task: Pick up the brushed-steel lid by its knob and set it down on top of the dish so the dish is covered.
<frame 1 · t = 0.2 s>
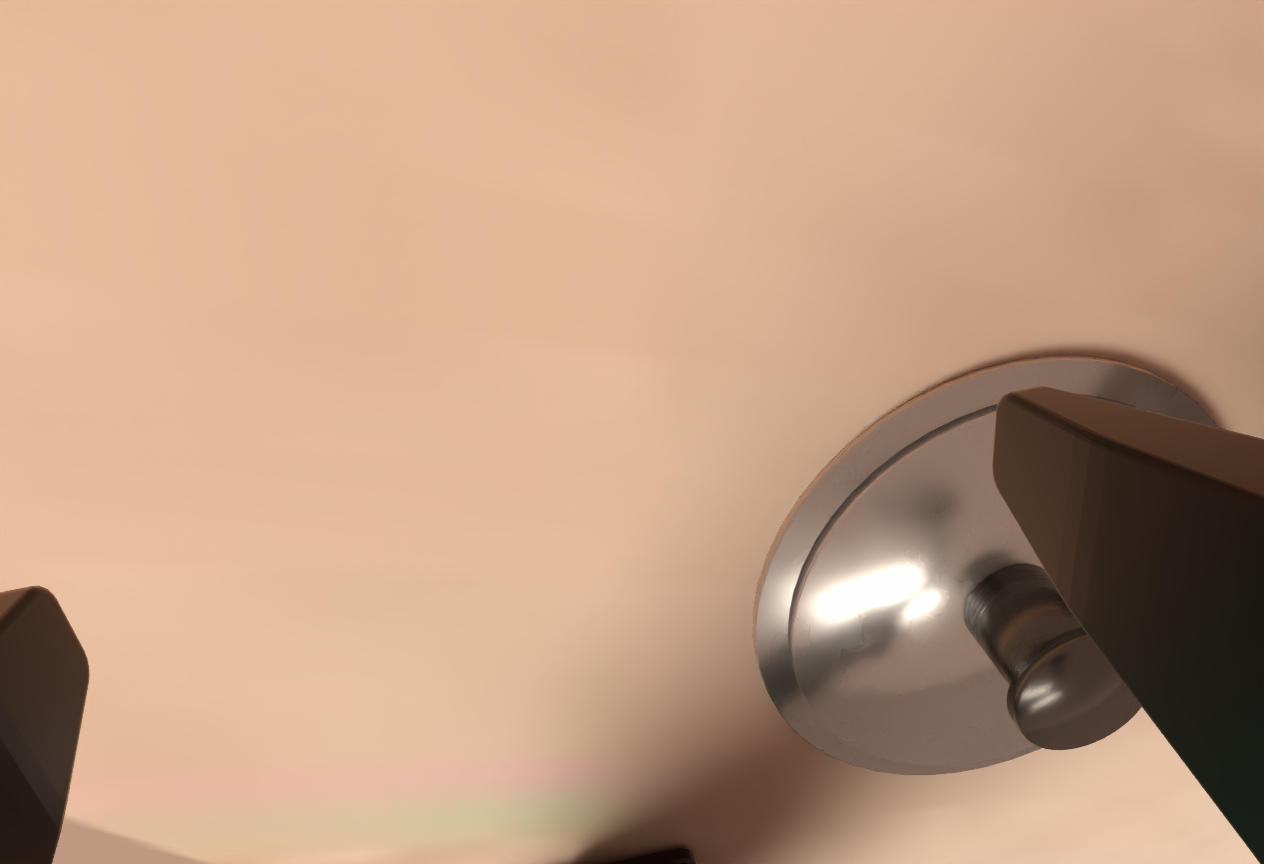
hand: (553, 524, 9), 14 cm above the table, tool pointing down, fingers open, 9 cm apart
lid: (988, 577, 31), on the table
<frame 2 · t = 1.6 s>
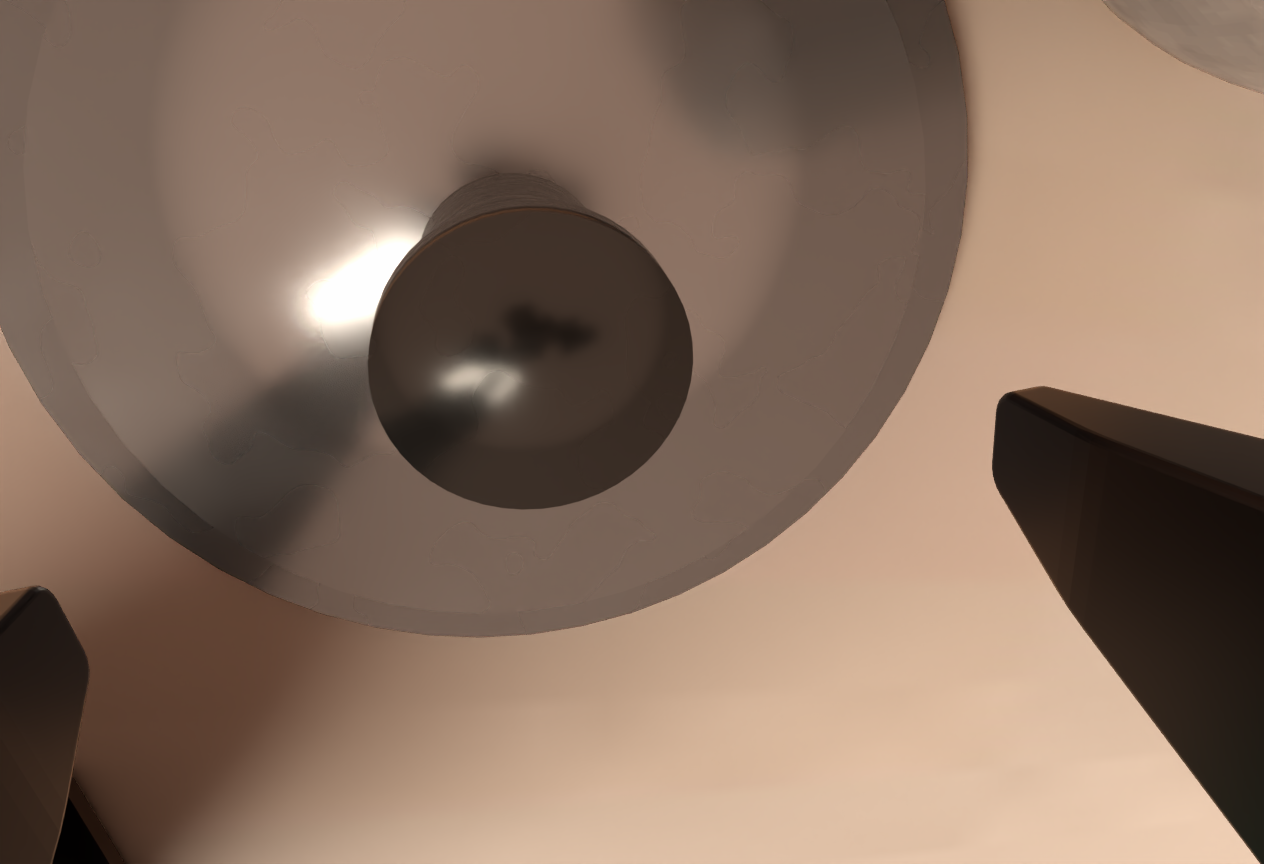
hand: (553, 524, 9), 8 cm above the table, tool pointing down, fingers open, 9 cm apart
lid: (508, 242, 16), on the table
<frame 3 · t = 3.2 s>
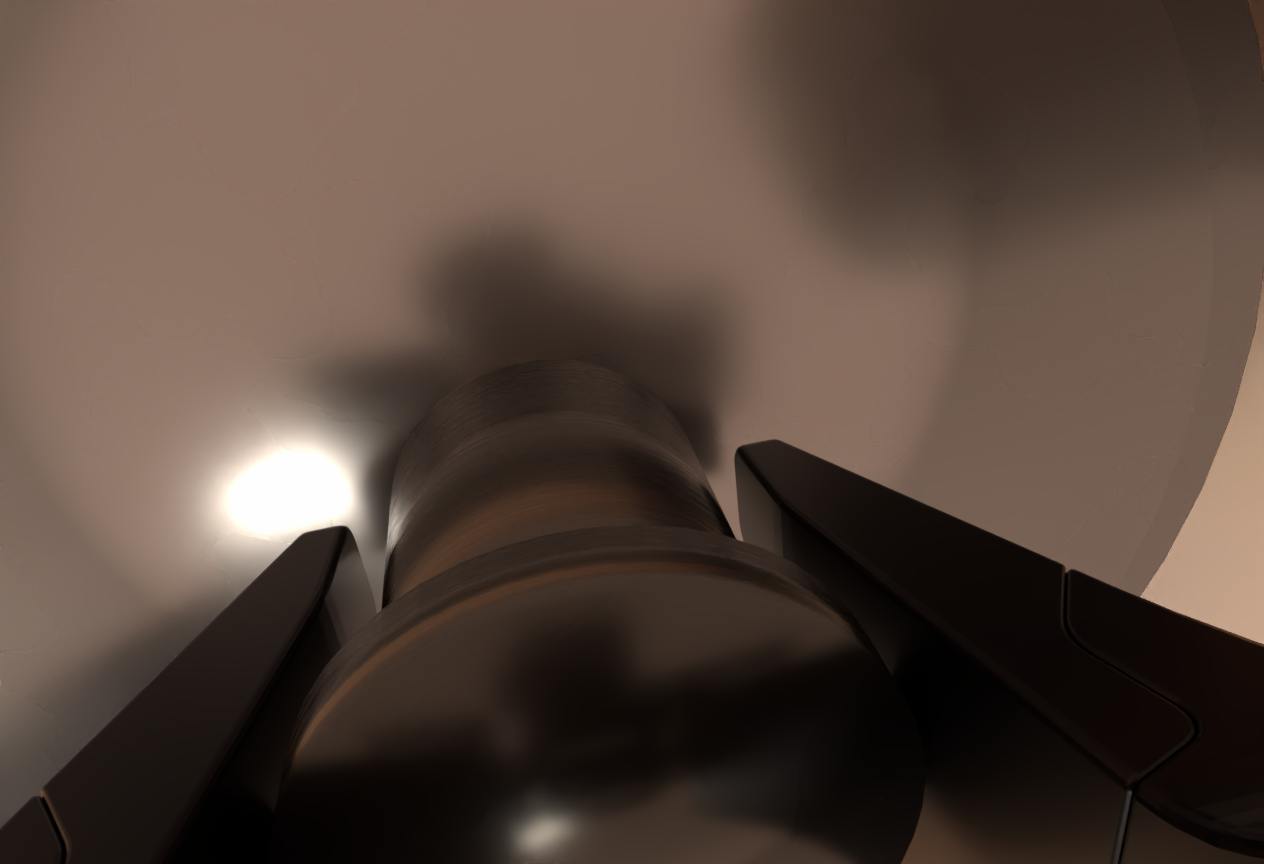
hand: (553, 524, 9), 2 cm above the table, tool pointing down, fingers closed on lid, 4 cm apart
lid: (536, 437, 10), on the table, touching gripper
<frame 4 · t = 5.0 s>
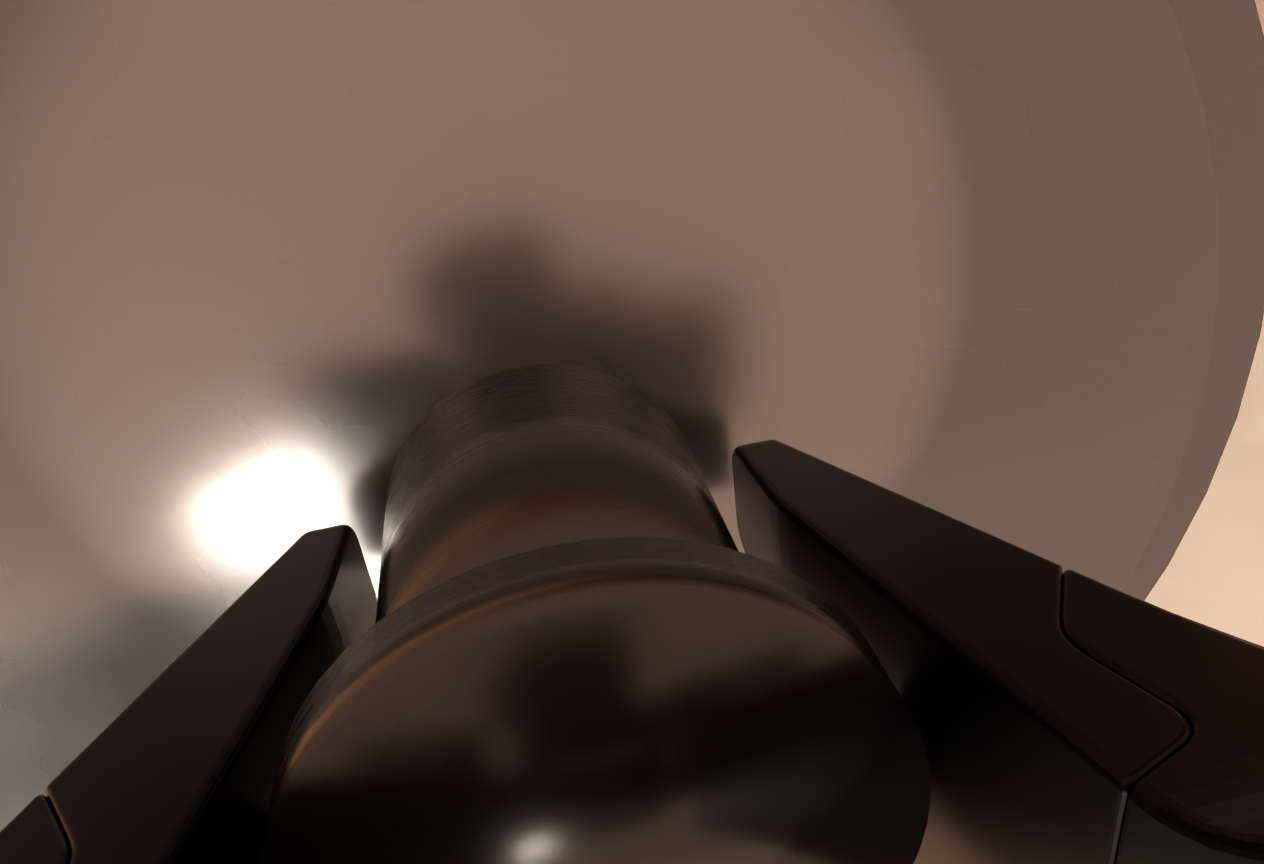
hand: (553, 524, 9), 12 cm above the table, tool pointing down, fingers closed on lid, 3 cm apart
lid: (533, 442, 10), point 10 cm above the table, touching gripper
when the fingers open (8 cm above the table, at t = 6.5 s): lid drops 2 cm, resting on dish.
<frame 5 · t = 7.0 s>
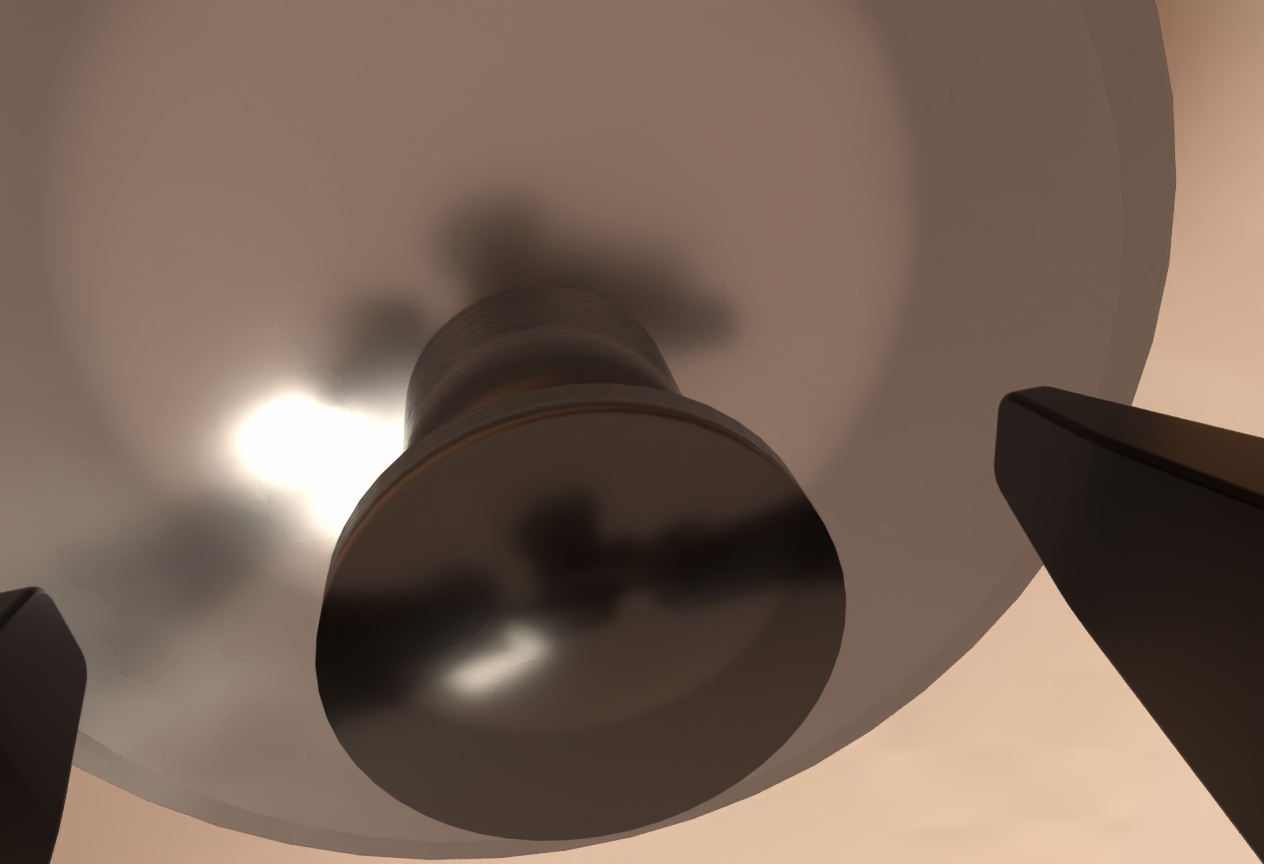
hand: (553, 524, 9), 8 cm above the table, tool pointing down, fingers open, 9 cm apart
lid: (532, 365, 12), point 5 cm above the table, touching dish
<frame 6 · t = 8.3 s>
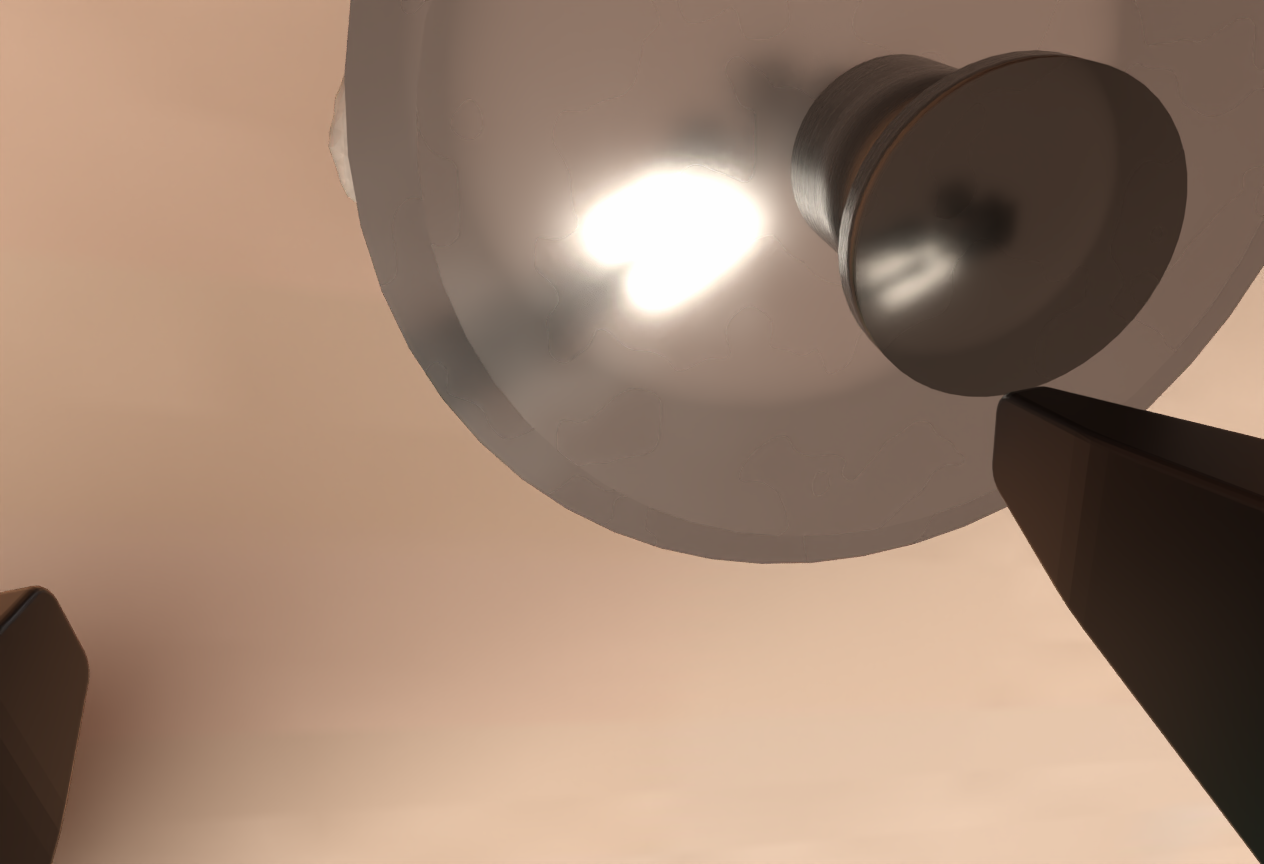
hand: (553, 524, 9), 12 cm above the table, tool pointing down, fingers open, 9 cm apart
dish: (767, 84, 20), on the table, touching lid
lid: (855, 140, 16), point 5 cm above the table, touching dish
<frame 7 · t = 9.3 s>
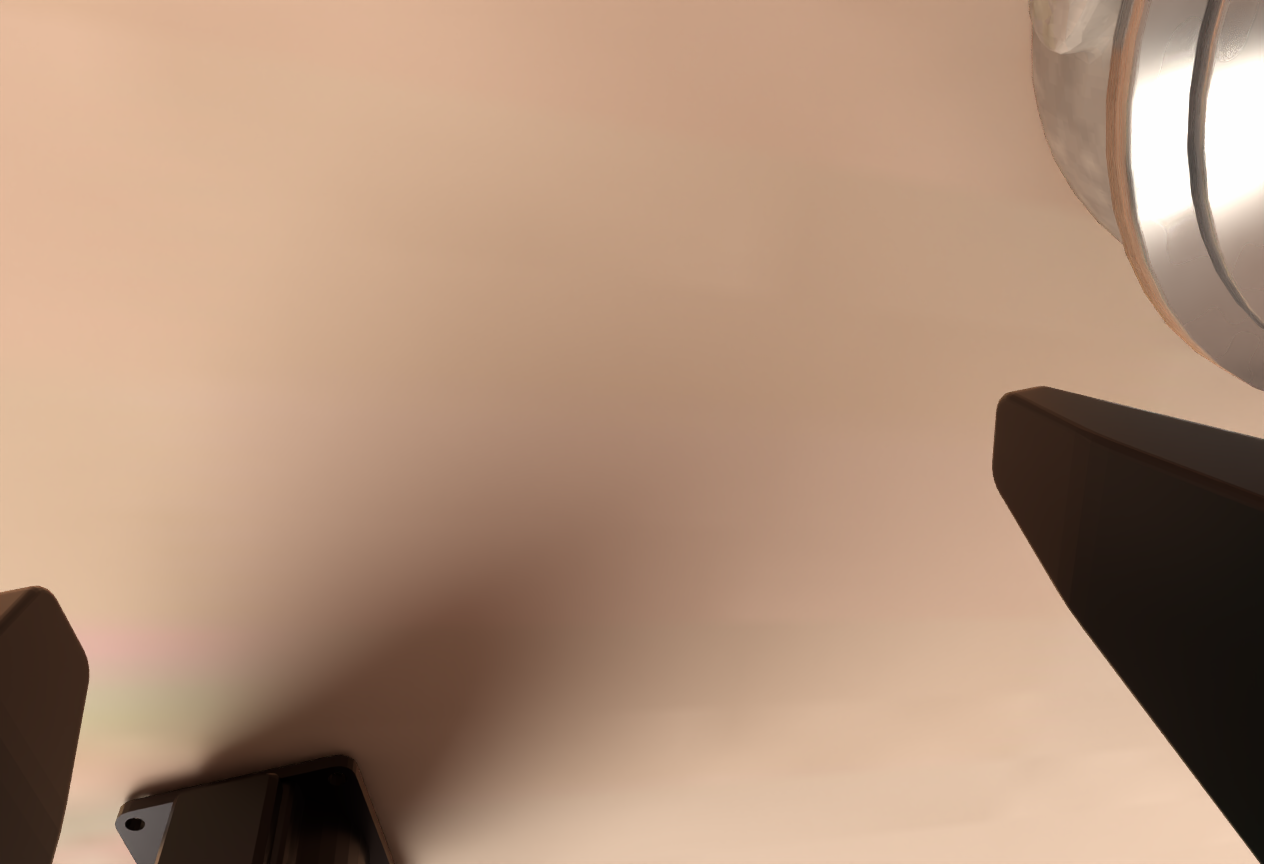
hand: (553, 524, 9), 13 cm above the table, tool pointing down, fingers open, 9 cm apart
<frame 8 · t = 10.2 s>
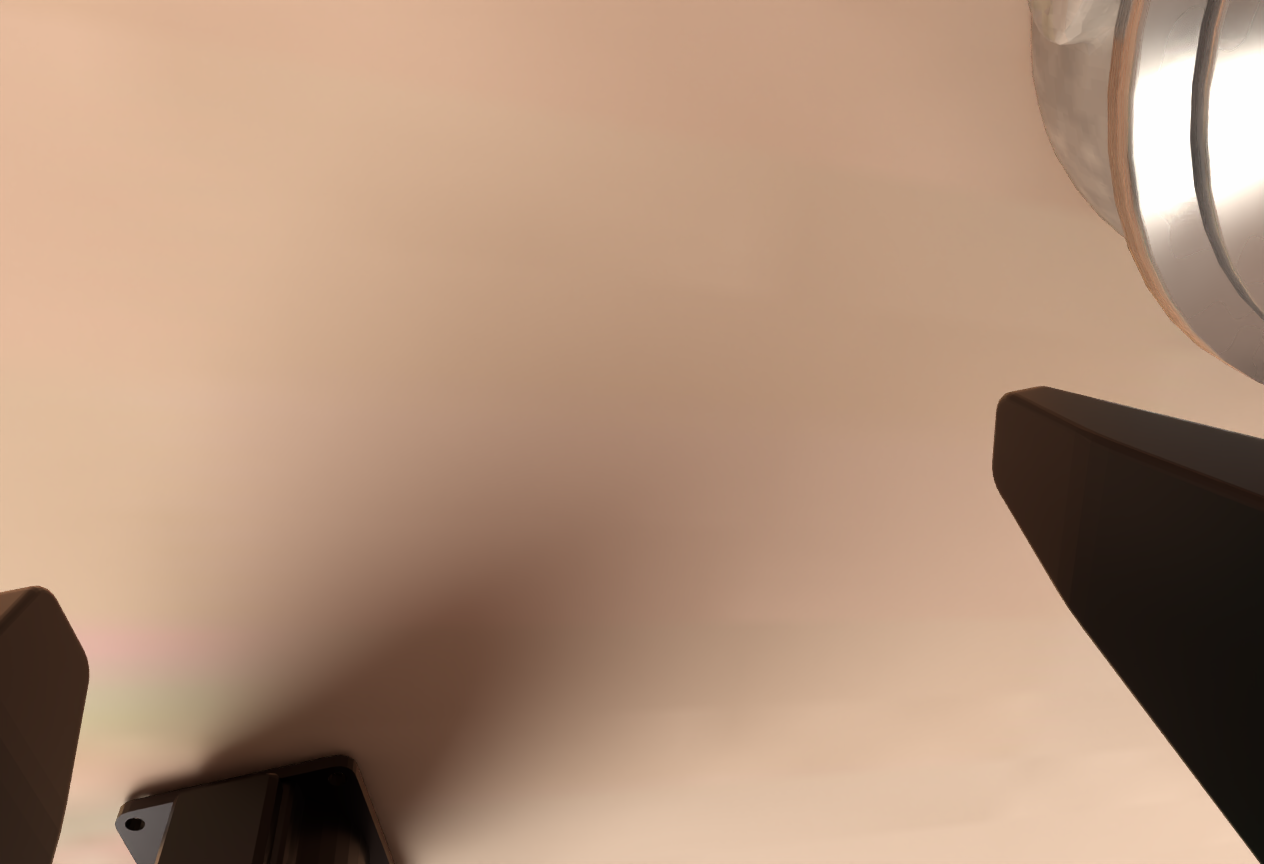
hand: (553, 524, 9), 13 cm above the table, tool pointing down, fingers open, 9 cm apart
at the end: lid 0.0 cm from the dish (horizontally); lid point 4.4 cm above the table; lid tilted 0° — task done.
